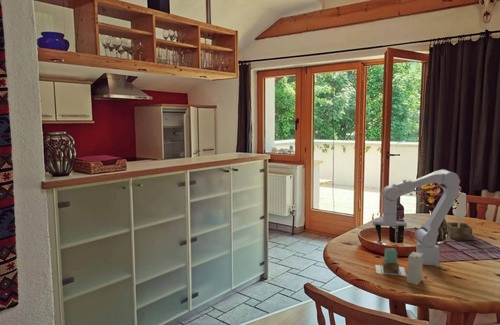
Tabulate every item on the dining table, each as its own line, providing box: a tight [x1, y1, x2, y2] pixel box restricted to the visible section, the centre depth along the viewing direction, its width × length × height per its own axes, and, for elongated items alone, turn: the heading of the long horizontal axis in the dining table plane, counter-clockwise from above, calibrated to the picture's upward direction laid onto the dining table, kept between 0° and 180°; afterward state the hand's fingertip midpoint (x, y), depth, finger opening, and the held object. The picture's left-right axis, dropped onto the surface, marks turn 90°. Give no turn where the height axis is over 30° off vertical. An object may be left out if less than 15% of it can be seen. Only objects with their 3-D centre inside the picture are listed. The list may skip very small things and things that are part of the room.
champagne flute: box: [452, 192, 468, 228], centre depth 209 cm, size 7×7×24 cm
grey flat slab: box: [374, 264, 407, 277], centre depth 166 cm, size 12×9×1 cm
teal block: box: [383, 247, 398, 263], centre depth 165 cm, size 4×4×5 cm
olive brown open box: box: [445, 221, 473, 241], centre depth 210 cm, size 11×11×6 cm
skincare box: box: [406, 251, 424, 286], centre depth 154 cm, size 6×4×12 cm
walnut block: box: [382, 257, 400, 274], centre depth 165 cm, size 6×6×4 cm
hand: (388, 241), depth 174 cm, fingers open, 7 cm apart
